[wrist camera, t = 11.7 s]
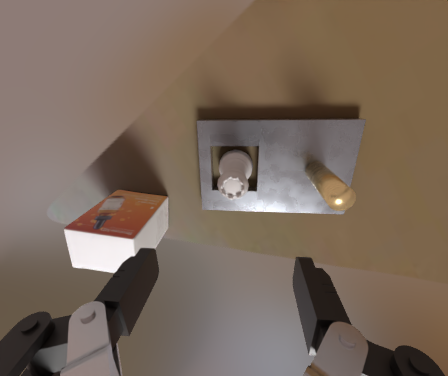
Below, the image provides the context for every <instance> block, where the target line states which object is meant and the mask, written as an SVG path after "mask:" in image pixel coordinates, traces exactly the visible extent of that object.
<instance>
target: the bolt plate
mask: <svg viewBox="0 0 448 376" xmlns="http://www.w3.org/2000/svg"><path fill="white" fill-rule="evenodd" d="M365 121H366V120H365V119H360V118H331V119H202V120H197V133H198V148H199V164H200V179H201V195H202V210H232V211H262V212H292V213H322V214H344V211H345V210H346V209H348V208H350V207H351V206H352V205H353V204H354V202H355V200H356V194H355V192H354V191H353V190H352V189H351V188H350V185H351V181H352V177H353V173H354V168H355V164H356V160H357V155H358V151H359V147H360V143H361V138H362V134H363V130H364V125H365ZM212 146H259V147H258V168H257V187H248V191H247V192H246V193H245V195H244V196H242V197H240V198H239V199H233V200H230V199H228V198H226V197H225V196H223V195H222V194H221V193H220V191H219V189H218V186H214V180H213V154H212Z"/></svg>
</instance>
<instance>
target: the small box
mask: <svg viewBox="0 0 448 376" xmlns="http://www.w3.org/2000/svg"><path fill="white" fill-rule="evenodd" d="M167 229H168V196H160V195H152V194H145V193H138V192H131V191H124V190H117V191H115V192H114V193H112V194H111V195H110V196H108V197H107V198H105V199H104V200H103V201H101V202H100V203H98V204H97V205H96V206H94V207H93V208H92V209H90V210H89V211H87V212H86V213H85V214H83V215H82V216H80V217H79V218H78V219H76V220H75V221H73V222H72V223H71V224H69V225H68V226H66V227H65V228H64V231H65V236H66V241H67V245H68V249H69V253H70V257H71V262H72V266H73V267H75V268H85V269H92V270H98V271H105V272H111V273H115V272H116V271H117V269H118V268H119V267H120V265H121V264H122V263H123V262H124V261H125V260H127V259H128V258H129V257H131V256H135V255H136V254H137V252H138V251H139V249H140V248H154V249H155V248H156V246H157V245H158V243H159V242H160V240H161V238H162V237H163V235H164V233H165V232H166V230H167Z"/></svg>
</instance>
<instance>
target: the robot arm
mask: <svg viewBox="0 0 448 376" xmlns="http://www.w3.org/2000/svg"><path fill="white" fill-rule="evenodd" d="M158 274H159V267H158V261H157V255H156V250H155V249H154V248H140V249H139V251H138V252H137V254H136V255H135V256H131V257H129V258H128V259H127V260H125V261H124V262H123V263H122V264H121V265H120V267H119V268H118V269H117V271H116V272H115V274H114V275H113V277H112V278H111V279H110V280H109V282H108V283H107V285H106V286H105V287H104V288H103V290H102V291H101V292H100V294H99V295H98V296H97V298H96V299H95V300H94V301H93V302H89V303H87V304H85V305H83V306H81V307H80V308H78V309H77V310H76V311H75V312H74V313H73V315H69V316H65V317H60V318H55V319H52V318H51V316H50V314H49V313H47V312H37V313H34V314H31V315H29V316H27V317H26V318H24V319H22V320H21V321H20V322H18V323H17V324H16V325H15V326H14V327H13V328H12V329H11V330H10V332H9V333H8V334H7V335H6V336H5V337H4V338H3V339H2V340H1V341H0V376H19V375H20V374H21V373H22V371H23V370H24V369H25V368H26V367H27V368H26V370H25V371H24V372H23V374H22V375H21V376H122V371H121V364H120V357H119V351H118V345H117V342H118V340H119V338H120V336H121V335H122V336H130V334H131V332H132V329H133V327H134V325H135V323H136V321H137V319H138V317H139V315H140V313H141V311H142V309H143V307H144V305H145V303H146V301H147V299H148V297H149V295H150V293H151V291H152V289H153V287H154V285H155V283H156V280H157V278H158ZM293 289H294V294H295V298H296V302H297V307H298V311H299V315H300V320H301V324H302V328H303V332H304V337H305V341H306V345H307V349H308V354H309V355H314V356H315V357H314V360H313V361H312V363H311V365H310V366H308V367H307V369H306V371H305V372H304V375H303V376H445V375H444V374H443V372H442V371H441V369H440V368H439V366H438V365H437V364H436V363H435V362H434V361H433V360H432V359H431V358H430V357H429V356H427V355H426V354H425V353H423V352H421V351H420V350H418V349H416V348H413V347H411V346H399V347H397V348H396V349H395V351H392V350H389V349H387V348H384V347H381V346H379V345H376V344H374V343H372V342H369V341H368V340H366V339H365V337H364V336H363V335H362V334H361V332H360V331H359V330H358V329H356V328H355V327H353V326H352V324H351V323H350V320H349V318H348V316H347V314H346V312H345V309H344V307H343V305H342V303H341V301H340V298H339V296H338V294H337V292H336V289H335V287H334V286H333V283H332V281H331V278H330V276H329V275H328V274H327V273H326V272H325V271H324V270H323V269H322V268H315V266H314V263H313V260H312V258H308V257H296V260H295V267H294V274H293Z"/></svg>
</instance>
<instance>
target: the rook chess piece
mask: <svg viewBox="0 0 448 376" xmlns="http://www.w3.org/2000/svg"><path fill="white" fill-rule="evenodd" d="M252 168H253V164H252V160H251V158H250V157H249V155H248V154H246V153H245V152H243V151H240V150H232V151H228V152H227V153H225V154H224V155H223V156H222V158H221V160H220V164H219V171H220V175H221V176H220V178H219V179H218V184H217V186H218V189H219V191H220V193H221V194H222V195H223V196H225V197H226V198H228V199H230V200H233V199H239V198H240V197H242V196H244V195H245V193H246V192H247V191H248V186H249V183H248V178H249V177H250V175H251V173H252Z"/></svg>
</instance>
